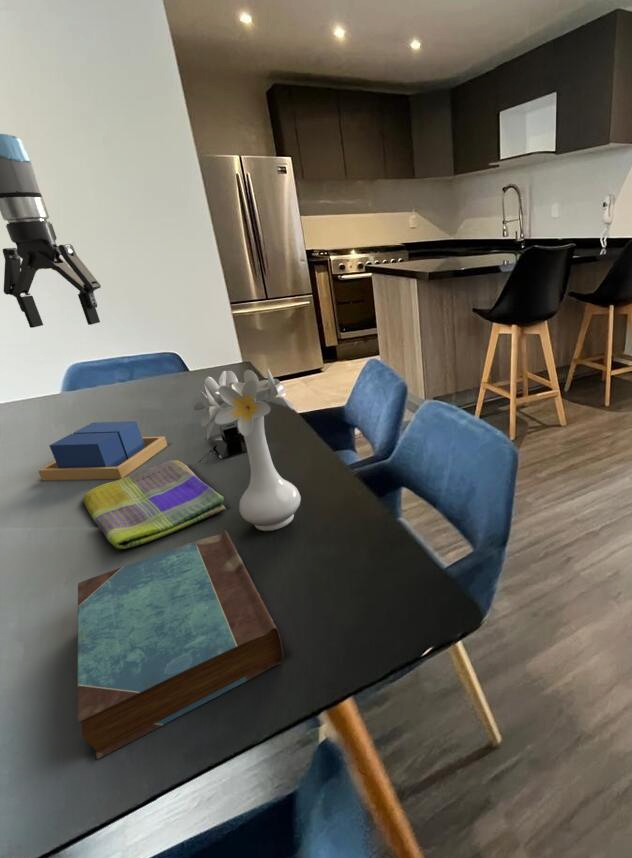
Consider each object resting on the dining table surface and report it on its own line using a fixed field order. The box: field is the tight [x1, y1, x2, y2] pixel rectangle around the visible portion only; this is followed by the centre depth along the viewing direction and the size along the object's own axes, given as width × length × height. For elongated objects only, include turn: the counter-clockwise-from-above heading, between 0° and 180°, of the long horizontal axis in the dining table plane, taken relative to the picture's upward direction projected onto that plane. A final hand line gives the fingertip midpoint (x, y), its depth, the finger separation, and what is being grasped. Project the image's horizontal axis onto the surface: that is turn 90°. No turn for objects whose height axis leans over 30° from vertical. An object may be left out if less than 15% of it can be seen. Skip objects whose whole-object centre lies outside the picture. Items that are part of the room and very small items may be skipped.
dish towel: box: [82, 459, 227, 550], centre depth 85 cm, size 18×24×3 cm
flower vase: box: [193, 368, 302, 532], centre depth 75 cm, size 13×18×25 cm
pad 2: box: [72, 420, 145, 460], centre depth 104 cm, size 10×6×7 cm, turn 86°
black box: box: [213, 421, 248, 460], centre depth 108 cm, size 12×7×5 cm, turn 36°
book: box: [76, 530, 284, 760], centre depth 56 cm, size 23×18×5 cm
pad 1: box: [48, 432, 127, 468], centre depth 98 cm, size 10×6×7 cm, turn 86°
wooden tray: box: [38, 436, 168, 482], centre depth 103 cm, size 17×15×3 cm
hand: (65, 325), depth 109 cm, fingers open, 13 cm apart
